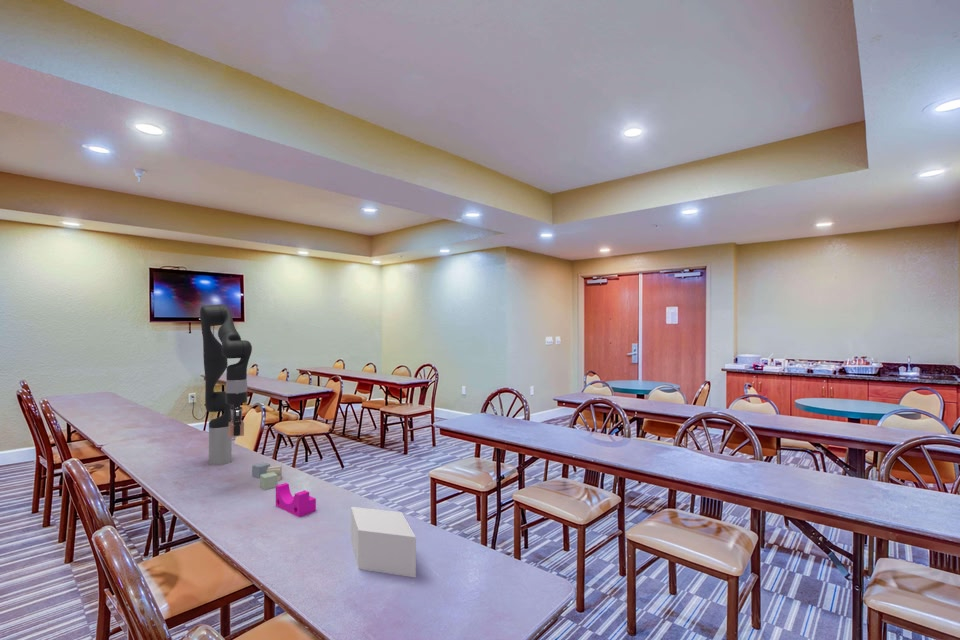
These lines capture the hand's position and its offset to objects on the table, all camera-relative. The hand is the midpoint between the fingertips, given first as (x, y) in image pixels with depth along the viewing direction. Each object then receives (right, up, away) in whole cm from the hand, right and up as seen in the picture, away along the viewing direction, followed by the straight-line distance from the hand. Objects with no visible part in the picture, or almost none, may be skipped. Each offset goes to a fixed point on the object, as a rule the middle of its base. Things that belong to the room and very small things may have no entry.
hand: (236, 433), depth 173 cm
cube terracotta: (0, 0, 0) cm, 0 cm away
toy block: (+32, -21, -20) cm, 43 cm away
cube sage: (+13, -21, +1) cm, 25 cm away
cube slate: (+3, -22, +13) cm, 26 cm away
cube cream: (+11, -22, +9) cm, 26 cm away
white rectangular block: (+69, -21, -52) cm, 89 cm away
